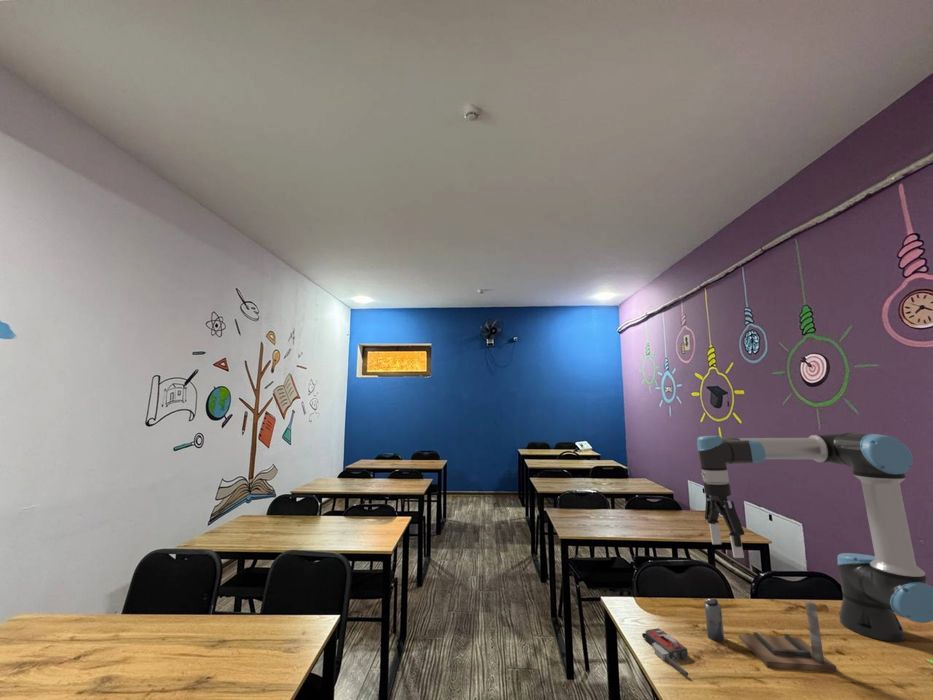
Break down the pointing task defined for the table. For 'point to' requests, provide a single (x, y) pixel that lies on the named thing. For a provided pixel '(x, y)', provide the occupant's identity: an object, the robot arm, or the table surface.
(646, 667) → the table surface
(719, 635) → the grey metal canister
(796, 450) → the robot arm
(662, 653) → the walkie-talkie
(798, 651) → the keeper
